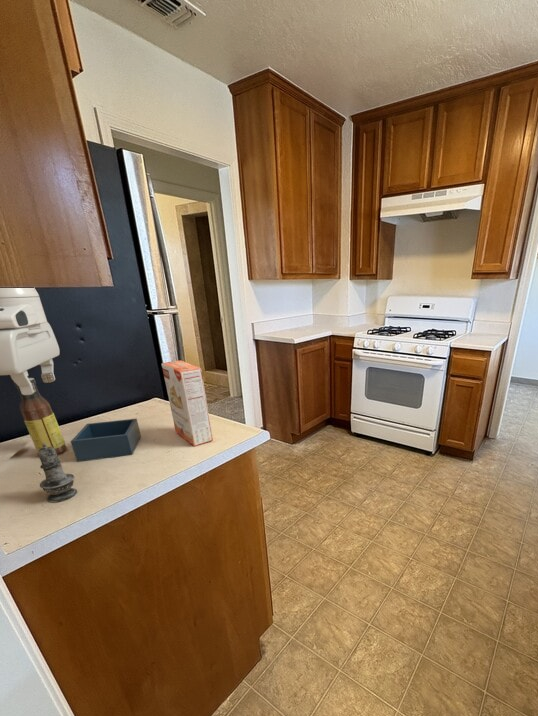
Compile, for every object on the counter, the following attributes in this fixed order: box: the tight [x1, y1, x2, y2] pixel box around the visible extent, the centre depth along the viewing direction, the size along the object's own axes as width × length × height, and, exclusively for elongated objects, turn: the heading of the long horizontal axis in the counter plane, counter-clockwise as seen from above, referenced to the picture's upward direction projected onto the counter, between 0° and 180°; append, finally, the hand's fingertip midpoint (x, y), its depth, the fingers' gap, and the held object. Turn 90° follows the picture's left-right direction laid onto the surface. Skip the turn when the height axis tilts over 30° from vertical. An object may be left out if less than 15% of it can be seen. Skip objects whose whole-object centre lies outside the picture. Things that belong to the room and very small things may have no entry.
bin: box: [70, 418, 142, 463], centre depth 94 cm, size 13×13×6 cm
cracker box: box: [161, 359, 214, 447], centre depth 97 cm, size 14×6×21 cm, turn 41°
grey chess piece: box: [37, 443, 78, 503], centre depth 72 cm, size 6×6×12 cm
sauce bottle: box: [13, 377, 67, 455], centre depth 89 cm, size 6×6×20 cm
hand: (40, 387), depth 70 cm, fingers open, 8 cm apart
